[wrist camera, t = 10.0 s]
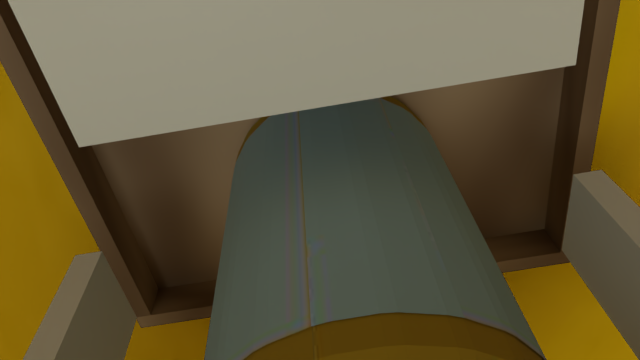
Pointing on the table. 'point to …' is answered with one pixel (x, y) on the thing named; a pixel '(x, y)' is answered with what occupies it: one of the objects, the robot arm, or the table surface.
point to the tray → (226, 139)
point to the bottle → (356, 248)
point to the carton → (274, 54)
